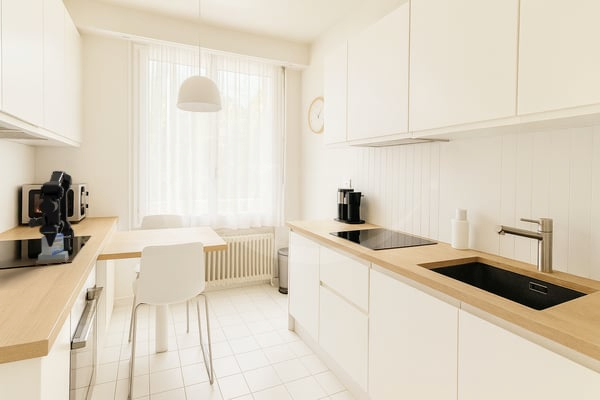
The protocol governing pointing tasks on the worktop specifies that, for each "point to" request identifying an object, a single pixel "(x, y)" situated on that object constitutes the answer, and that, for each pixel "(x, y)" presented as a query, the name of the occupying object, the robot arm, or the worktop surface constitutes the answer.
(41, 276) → the worktop surface
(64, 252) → the tower top
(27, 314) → the worktop surface
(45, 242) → the medicine box
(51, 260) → the tower base
